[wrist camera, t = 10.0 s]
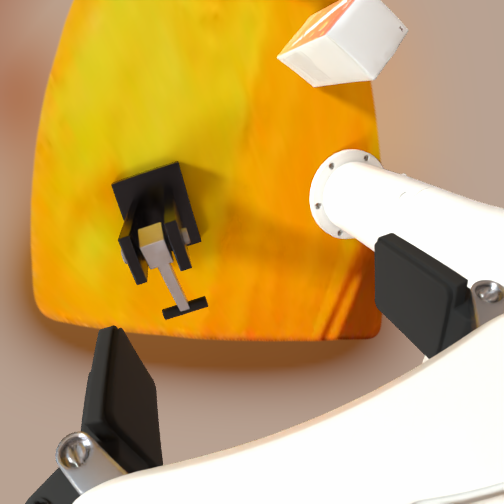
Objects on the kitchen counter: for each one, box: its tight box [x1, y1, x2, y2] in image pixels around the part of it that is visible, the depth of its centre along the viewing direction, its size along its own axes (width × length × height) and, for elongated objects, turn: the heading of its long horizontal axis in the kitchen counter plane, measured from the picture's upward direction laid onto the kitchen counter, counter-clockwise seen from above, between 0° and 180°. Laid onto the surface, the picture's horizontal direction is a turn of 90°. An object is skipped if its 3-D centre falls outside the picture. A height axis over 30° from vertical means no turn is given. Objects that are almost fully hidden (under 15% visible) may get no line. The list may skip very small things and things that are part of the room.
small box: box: [277, 0, 408, 87], centre depth 27 cm, size 8×6×13 cm
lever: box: [138, 222, 208, 320], centre depth 30 cm, size 12×5×2 cm, turn 13°
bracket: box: [112, 161, 201, 285], centre depth 30 cm, size 10×8×13 cm
